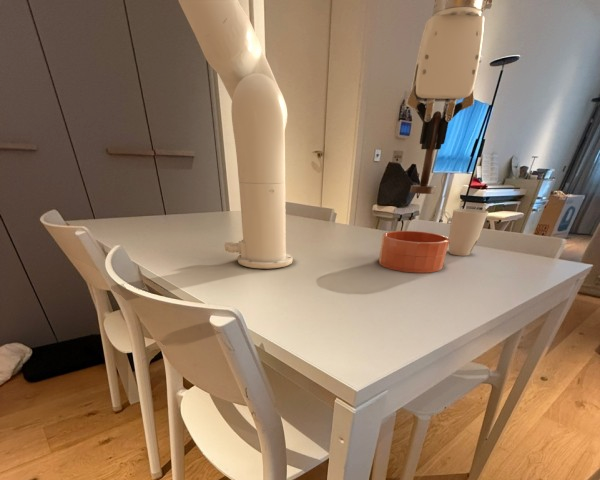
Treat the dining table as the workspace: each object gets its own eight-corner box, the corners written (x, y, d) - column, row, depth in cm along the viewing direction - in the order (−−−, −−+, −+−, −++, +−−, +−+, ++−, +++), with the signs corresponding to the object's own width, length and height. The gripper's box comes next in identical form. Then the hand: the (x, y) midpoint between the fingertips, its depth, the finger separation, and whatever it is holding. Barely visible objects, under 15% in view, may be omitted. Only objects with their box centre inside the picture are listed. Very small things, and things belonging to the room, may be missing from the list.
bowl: (384, 271, 73) (389, 242, 70) (374, 256, 85) (378, 230, 81) (450, 273, 73) (459, 243, 69) (431, 257, 85) (438, 231, 81)
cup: (480, 257, 86) (494, 213, 80) (448, 256, 86) (460, 212, 80) (468, 250, 92) (480, 209, 87) (438, 249, 92) (449, 208, 87)
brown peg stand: (413, 193, 67) (428, 109, 60) (408, 191, 71) (421, 112, 63) (437, 194, 67) (455, 109, 59) (430, 192, 71) (447, 112, 63)
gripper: (497, 15, 57) (464, 150, 68) (404, 15, 57) (386, 149, 68) (518, -3, 51) (479, 149, 62) (414, -2, 51) (393, 148, 62)
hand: (430, 148), depth 65 cm, fingers closed on brown peg stand
